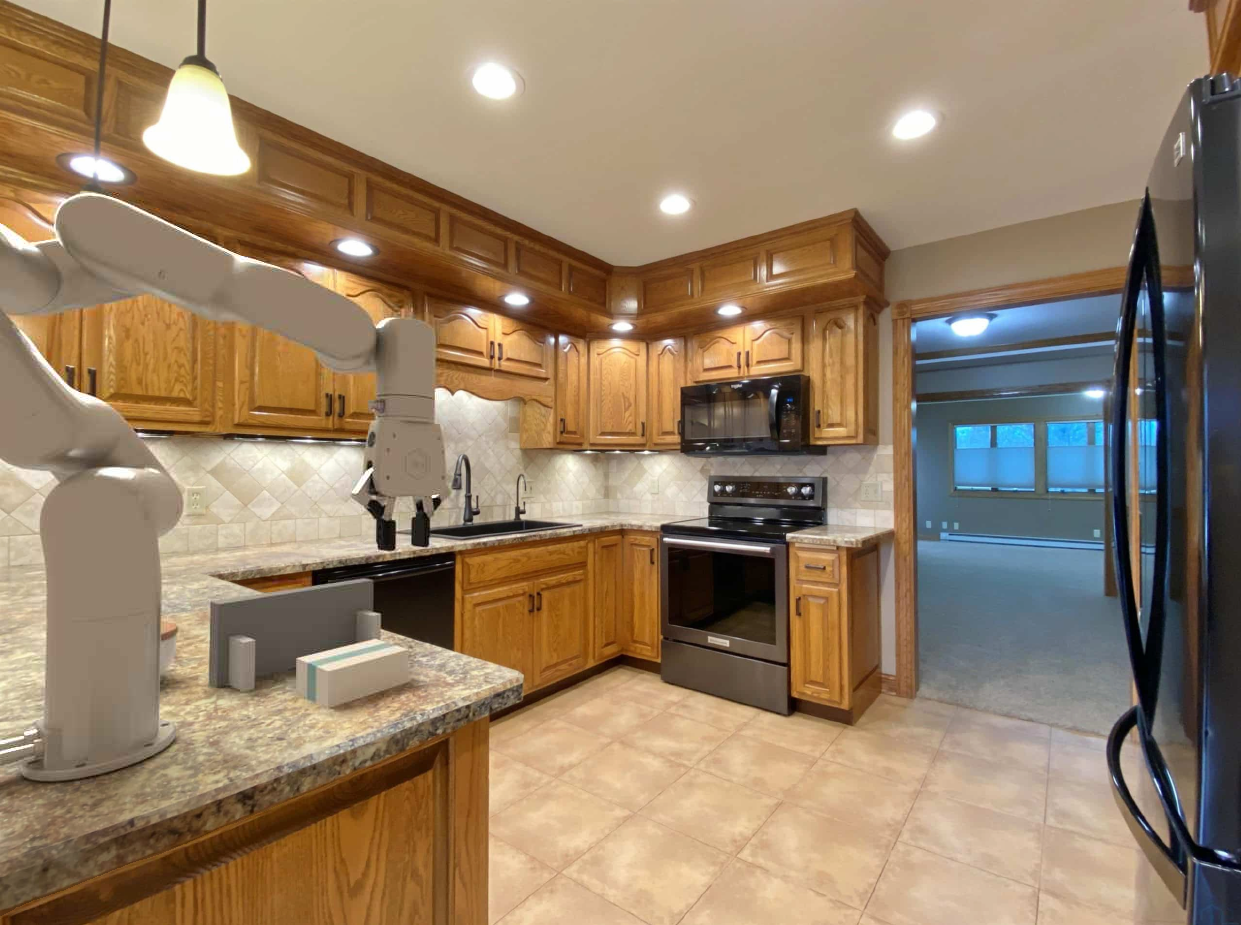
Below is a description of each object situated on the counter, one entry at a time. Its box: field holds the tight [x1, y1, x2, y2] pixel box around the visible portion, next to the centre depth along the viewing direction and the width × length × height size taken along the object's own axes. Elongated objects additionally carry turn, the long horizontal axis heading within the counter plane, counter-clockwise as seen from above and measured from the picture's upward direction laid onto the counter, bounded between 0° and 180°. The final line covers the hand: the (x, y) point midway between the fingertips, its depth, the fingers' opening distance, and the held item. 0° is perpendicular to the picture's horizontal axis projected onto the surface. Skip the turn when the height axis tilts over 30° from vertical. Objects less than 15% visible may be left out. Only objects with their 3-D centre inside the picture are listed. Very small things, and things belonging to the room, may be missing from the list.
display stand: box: [208, 578, 382, 693], centre depth 92 cm, size 24×8×12 cm, turn 144°
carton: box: [295, 639, 410, 709], centre depth 83 cm, size 12×9×5 cm
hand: (403, 546), depth 77 cm, fingers open, 4 cm apart
